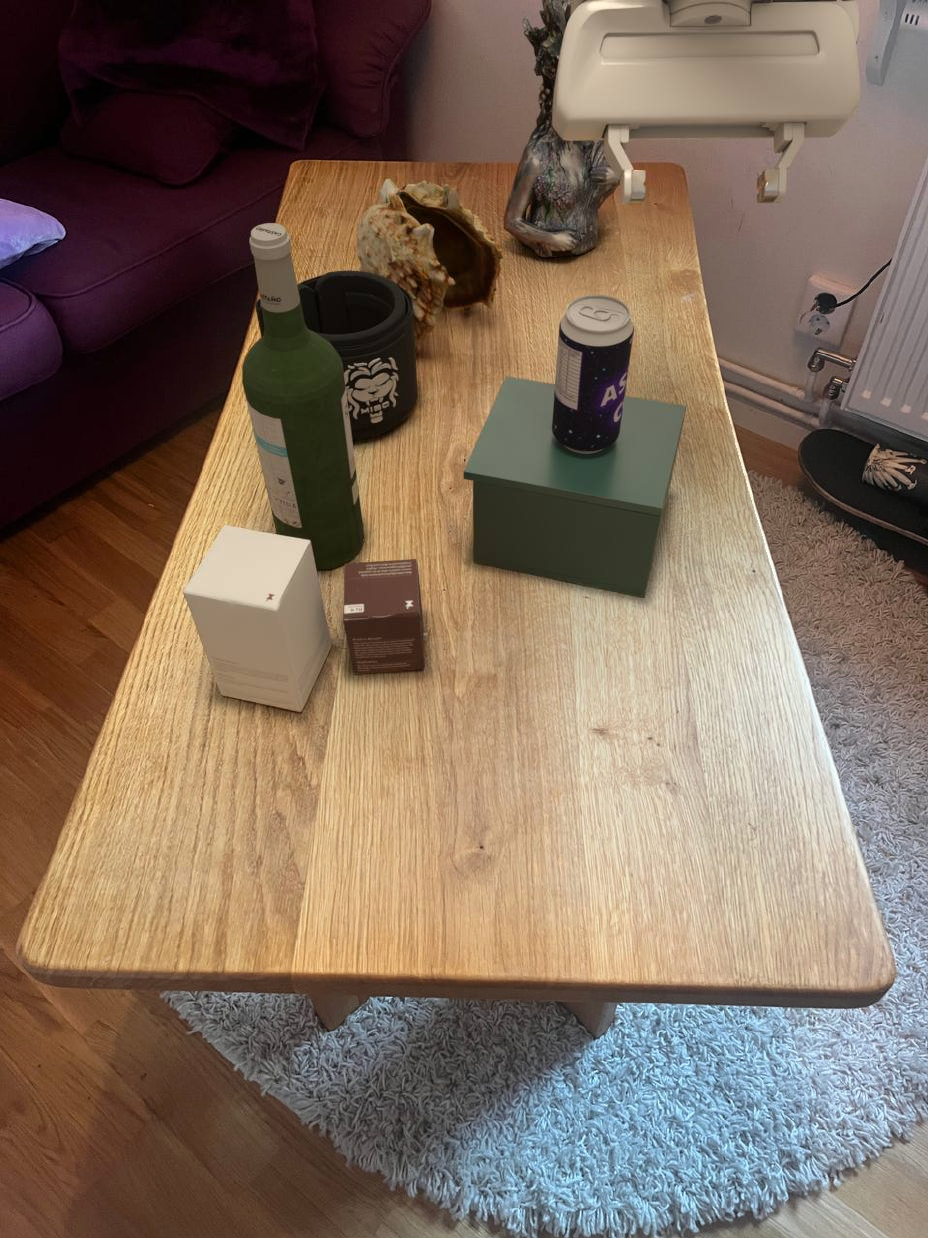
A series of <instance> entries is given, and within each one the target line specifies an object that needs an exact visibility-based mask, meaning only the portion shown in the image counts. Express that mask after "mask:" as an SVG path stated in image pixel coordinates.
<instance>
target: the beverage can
mask: <svg viewBox="0 0 928 1238" xmlns="http://www.w3.org/2000/svg"><path fill="white" fill-rule="evenodd" d="M631 317H632V312H631V310H630V307H628V305H627V304H626V303H625V302H623V301H622V300H620V299H619V298H616V297H613V296H609V295H604V294H588V295H583V296H580V297H577V298H575V299H573V300H572V301H571V302H569V304H567V306H566V308H565V313H564V315H563V316H562V318H561V319H560V322H559V325H558V326H559V327H558V339H557V351H556V353H557V354H556V367H555V380H554V384H555V393H554V406H553V420H552V432H553V435H554V436H555V438H556V439H557V440H558V441H559V442H560V443H561V444H563V445H564V446H565V447H566V448H568V449H569V450H571V451H574V452H577V453H582V454H591V453H596V452H599V451H601V450H603V449H604V448H606V447H608V446H610V445H612V444H613V443H614V442H615V441H616V440H617V438H618V436H619V433H620V426H621V419H622V412H623V405H624V397H625V396H626V390H627V382H628V377H629V375H628V374H629V369H630V361H631V355H632V347H633V340H634V334H635V333H634V332H635V327H634V323H633V321H632V319H631Z"/></svg>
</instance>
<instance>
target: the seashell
mask: <svg viewBox="0 0 928 1238" xmlns="http://www.w3.org/2000/svg"><path fill="white" fill-rule="evenodd" d="M377 199H378V203H377V204H373V205H371V206H370V207H369V206H368V208H367V209H366V211H365V212H363V214H362V216H361V218H360V222H359V224H358V226H357V231H356V240H357V241H356V242H357V249H356V250H357V251H356V255H357V259H358V260H359V262H360V268H359V269H358V271H363V272H369V273H373V274H377V275H379V276H382V277H384V278H386V279H389V280H391V281H393V282H395V283H396V284H398V285H399V286H401V287H402V288H404V289H405V290H406V291H407V292H408V293H409V294H410V296H411V298H412V302H413V317H414V335H415V352H416V354H417V353H418V352H419V351H420V350H421V347H422V344H423V339H424V338H425V337H426V336H428V335H429V334H431V333H432V332H433V331H434V330H435V327H436V325H437V321H438V319H439V317H440V313H441V311H442V309H443V308H446V309H449V310H453V309H457V308H460V309H461V308H462V309H463V310H464V311H465V312H466V313H468V312H470V311H471V310H472V308H475V306H476V305H478V304H483V305H485V306H486V308H488V309H490V310H493V309H494V301H495V296H496V293H495V292H496V291H498V289H497V280H498V279H499V277H500V275H501V271H502V265H501V260H502V259H503V258H504V256H503V254H502V253H503V249H502V248H501V244H499V242H497V241H495V238H494V235H491V234H489V230H488V229H487V228H486V227H484V226H483V225H484V223H483V221H482V220H481V219H480V217H479V216H478V215H475V214H474V213H473V212H472V210H471V209H466V208H465V207H464V206H463V205H462V204H461V202H460V200H459V199H460V198H459V196H458V193H457V189H456V188H455V187H452V189H451V190H450V188H449V183H444V184H443V187H441V186H440V185H438V184H436V183H433V182H431V181H428V180H425V179H424V180H421V181H420V182H417V183H404V184H403V185H401V186H400V187H398V186H397V185H396V184H395V183H394V182H393V180H391V178H385V180H384V182H383V184H382V185H381V187H380V189H379V191H378V198H377Z"/></svg>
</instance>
